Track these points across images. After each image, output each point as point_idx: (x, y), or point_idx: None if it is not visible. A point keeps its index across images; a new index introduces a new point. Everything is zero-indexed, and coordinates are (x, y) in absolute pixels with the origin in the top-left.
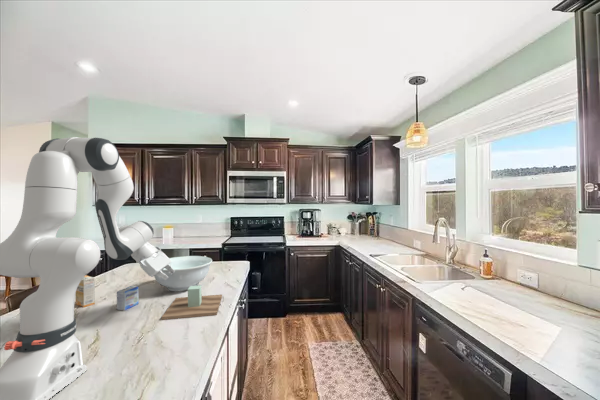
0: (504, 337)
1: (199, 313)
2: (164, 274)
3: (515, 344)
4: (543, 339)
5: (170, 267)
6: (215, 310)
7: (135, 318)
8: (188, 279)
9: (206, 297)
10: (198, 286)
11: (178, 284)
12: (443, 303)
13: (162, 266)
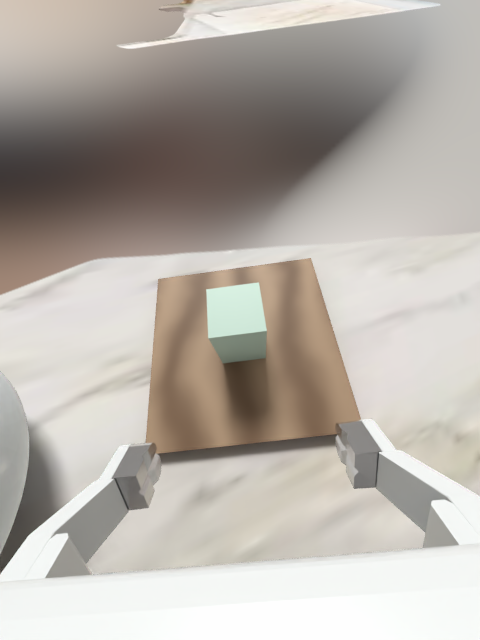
0: (357, 14)
1: (321, 301)
2: (409, 457)
3: (371, 13)
4: (357, 3)
5: (78, 518)
6: (297, 264)
7: None
8: (16, 419)
9: (175, 321)
10: (223, 296)
11: (24, 484)
12: (266, 29)
13: (389, 585)
